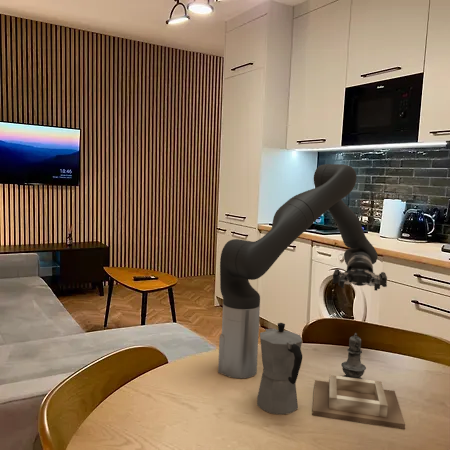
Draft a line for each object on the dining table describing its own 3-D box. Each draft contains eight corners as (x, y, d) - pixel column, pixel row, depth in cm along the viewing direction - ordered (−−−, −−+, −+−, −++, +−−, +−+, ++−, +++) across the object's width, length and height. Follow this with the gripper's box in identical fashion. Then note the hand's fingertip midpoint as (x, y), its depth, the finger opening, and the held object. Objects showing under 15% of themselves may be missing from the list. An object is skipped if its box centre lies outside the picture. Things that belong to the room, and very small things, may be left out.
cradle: (312, 415, 92) (313, 398, 92) (314, 384, 107) (315, 370, 107) (404, 429, 88) (406, 412, 88) (394, 395, 103) (395, 380, 103)
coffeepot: (245, 392, 101) (249, 315, 99) (283, 388, 104) (287, 312, 103) (275, 428, 87) (279, 338, 85) (317, 422, 90) (322, 335, 88)
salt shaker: (341, 383, 108) (344, 335, 107) (339, 373, 114) (342, 327, 112) (366, 386, 107) (370, 337, 106) (363, 376, 113) (366, 329, 112)
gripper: (335, 256, 135) (331, 270, 119) (385, 258, 130) (388, 273, 115) (335, 279, 136) (331, 297, 121) (384, 283, 132) (387, 301, 116)
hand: (359, 285), depth 118 cm, fingers open, 8 cm apart
